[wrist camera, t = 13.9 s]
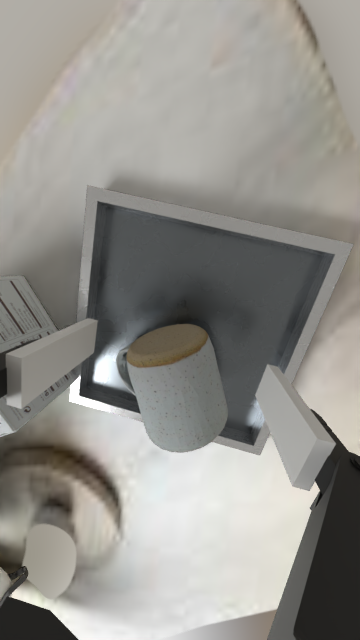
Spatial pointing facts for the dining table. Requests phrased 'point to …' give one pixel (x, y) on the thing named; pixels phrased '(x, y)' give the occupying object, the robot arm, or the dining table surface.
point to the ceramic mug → (176, 386)
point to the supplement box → (15, 329)
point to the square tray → (199, 298)
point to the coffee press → (3, 586)
